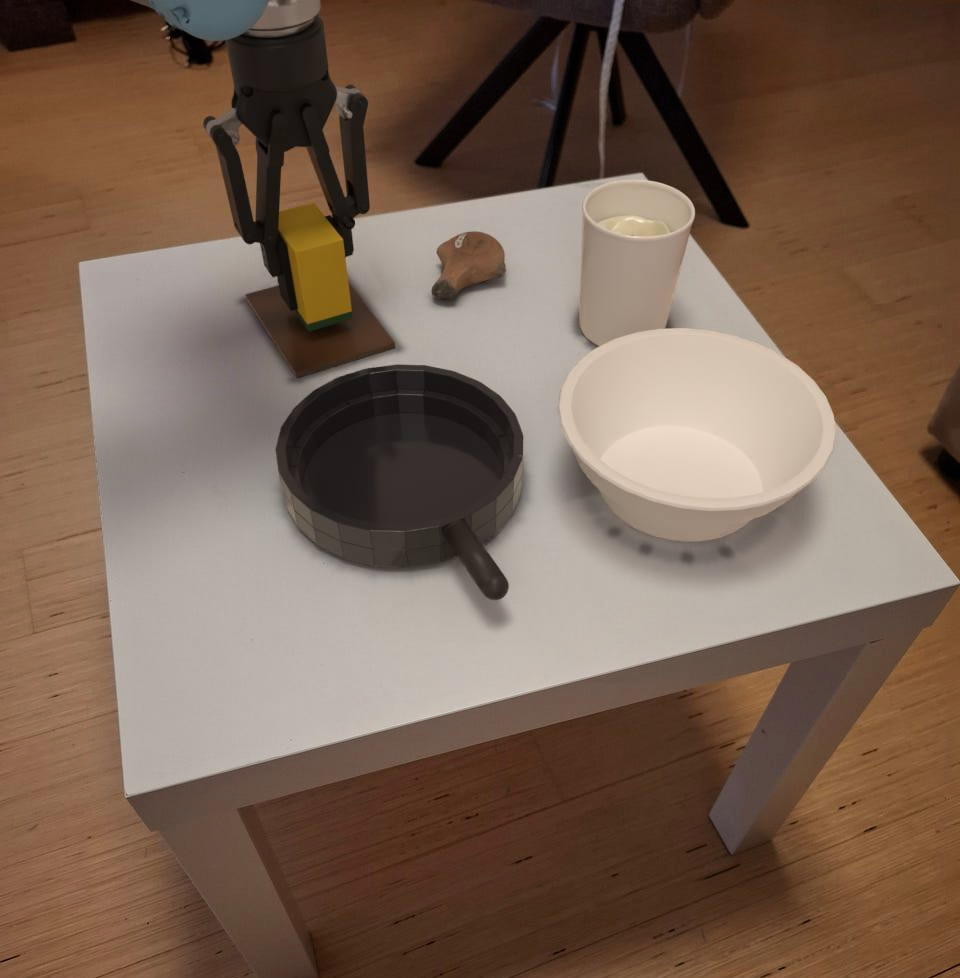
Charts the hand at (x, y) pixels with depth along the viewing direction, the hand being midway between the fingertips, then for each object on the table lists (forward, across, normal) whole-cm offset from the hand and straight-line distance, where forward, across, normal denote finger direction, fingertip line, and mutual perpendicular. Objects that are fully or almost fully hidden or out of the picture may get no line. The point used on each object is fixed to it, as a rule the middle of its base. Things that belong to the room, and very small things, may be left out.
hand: (315, 294), depth 89 cm
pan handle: (+1, -2, -37) cm, 37 cm away
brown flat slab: (+3, 0, 0) cm, 3 cm away
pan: (+3, -2, -24) cm, 24 cm away
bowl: (+3, +18, -35) cm, 39 cm away
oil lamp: (+3, +16, 0) cm, 16 cm away
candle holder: (+3, +26, -14) cm, 30 cm away
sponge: (+1, 0, 0) cm, 1 cm away
